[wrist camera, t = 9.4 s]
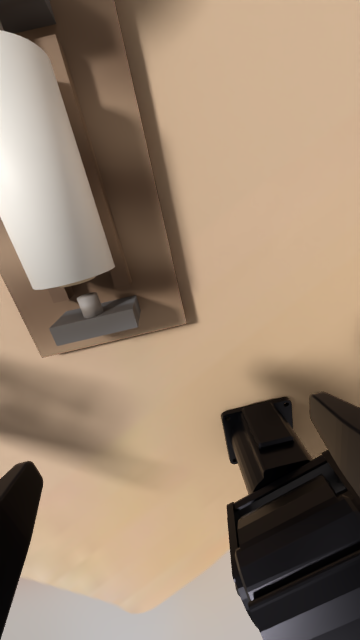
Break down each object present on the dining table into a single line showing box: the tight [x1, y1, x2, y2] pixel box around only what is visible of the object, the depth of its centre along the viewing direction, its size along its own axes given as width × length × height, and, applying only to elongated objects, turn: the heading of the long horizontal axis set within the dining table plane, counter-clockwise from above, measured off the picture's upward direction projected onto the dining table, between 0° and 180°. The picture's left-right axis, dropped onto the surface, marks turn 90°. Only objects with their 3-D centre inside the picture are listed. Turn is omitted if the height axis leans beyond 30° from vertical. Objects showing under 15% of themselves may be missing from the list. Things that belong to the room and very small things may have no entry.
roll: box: [0, 30, 115, 290], centre depth 12 cm, size 10×4×4 cm, turn 12°
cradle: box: [0, 0, 187, 358], centre depth 14 cm, size 20×11×4 cm, turn 12°
